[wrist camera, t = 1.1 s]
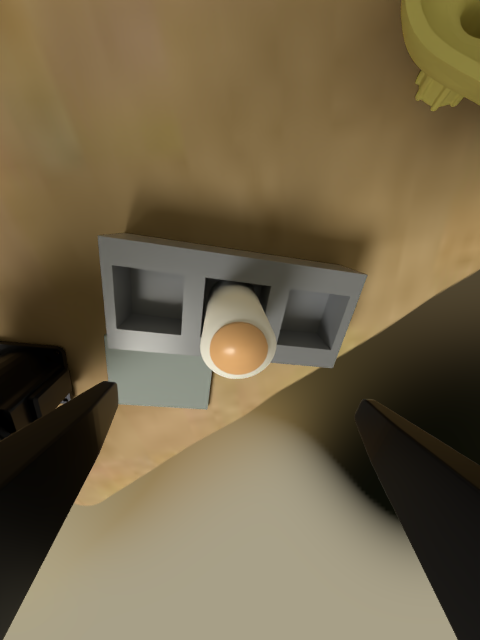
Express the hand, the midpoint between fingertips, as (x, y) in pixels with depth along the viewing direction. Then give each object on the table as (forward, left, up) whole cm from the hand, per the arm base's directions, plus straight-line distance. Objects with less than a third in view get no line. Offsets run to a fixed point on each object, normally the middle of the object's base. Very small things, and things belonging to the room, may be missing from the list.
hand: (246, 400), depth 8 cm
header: (0, 0, -13) cm, 13 cm away
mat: (-6, -9, -13) cm, 17 cm away
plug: (0, 0, -12) cm, 12 cm away
